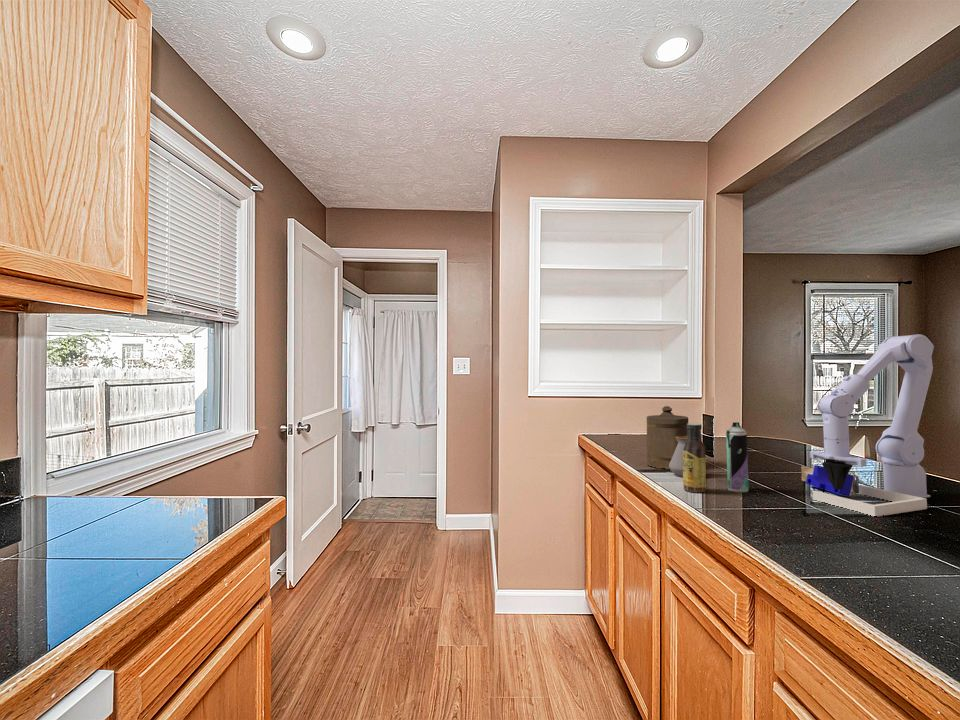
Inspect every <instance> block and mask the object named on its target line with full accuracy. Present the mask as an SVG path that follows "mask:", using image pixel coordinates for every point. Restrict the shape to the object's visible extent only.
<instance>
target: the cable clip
mask: <svg viewBox="0 0 960 720" xmlns="http://www.w3.org/2000/svg"><path fill="white" fill-rule="evenodd" d="M813 468H814V471H813V475H811V474H808V475H807V480H806V482H805V484H807V485H809V486H811V487H814V488H817V489H820V490H825V491H828V492H830V493H833V494H835V495H838V496H843V497H848V496H851V493H852V492H851V487H852V482H853V477H854V476H855V475H852V474H850V473H848V474H847V477H846V479H845V482H844V486H843V489H834V488H833V486H832V484H831V483H830V481H829V478H828V473H827V471H826V470H825V468H824V467H823V465H817V464H814V467H813Z"/></svg>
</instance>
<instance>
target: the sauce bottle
mask: <svg viewBox="0 0 960 720" xmlns="http://www.w3.org/2000/svg"><path fill="white" fill-rule="evenodd" d="M706 460H707V456H706V446H705V445H704V442H703V441H702V423H698V422H697V423H696V422H688V424H687V440H686V443H685V446H684V449H683V477H682V483H683V489H684V490H685V491H686V492H689V493H704V492H706V490H707V489H706V486H707V478H706V477H707V475H706V474H707V471H706V470H707V469H706V468H707V462H706Z"/></svg>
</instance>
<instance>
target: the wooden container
mask: <svg viewBox="0 0 960 720" xmlns="http://www.w3.org/2000/svg"><path fill="white" fill-rule="evenodd" d="M661 411H662V413H660V414H655V415H647V416H646V462H647V463H646V464H647V466H648V465H649V466H648V467H650V466H652V467H651V468H653V467H656V468H655V469H658V468H665V469H664V470H669V469H670V468H669V464H670V461H671V459H672V457H673V454H674V452H675V449H676V447H677V445H678V441H677V440H676V438H675V437H677V436H687V424H688V423H689V417H688V416H685V415H675V414H674V413H673V412H672V411H673V408H672V407H670V406H669V405H668V406H665V405H664V406H663V407H662V410H661Z"/></svg>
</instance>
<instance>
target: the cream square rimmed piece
mask: <svg viewBox="0 0 960 720" xmlns="http://www.w3.org/2000/svg"><path fill="white" fill-rule="evenodd" d="M859 480H860V479H859V475H854V489H855V492H854V494H856V493H859V494H858V495H860V494H864V495H868V496H867V497H869V496H872V497H871V498H873V497H877V498H880V499H879V500H882V499H884V500H883V501H886V500H888V501H887V502H884V503H875V504H872V503H867V502H864V501H863V502H862V501H858V500H854V499H851V498H847V497H844V496H843V497H842V496H840V495H838V496H837V495H836V494H835V495H834V494H830V493H829V494H828V492H827V493H826V492H822V491H818V490H813V491H812V501H813V500H817V501H821V502H825V503H828V504H831V505H830V506H832V505H835V506H834V507H836V506H839V507H838V508H840V507H843V508H847V509H850V510H849V511H851V510H854V511H853V512H855V511H858V512H857V513H859V512H861V513H860V514H862V513H864V514H863V515H866V514H868V515H867V516H870V515H871V517H874V516H877V517H883V515H884V516H890V515H895V514H901V513H909V512H914V511H915V512H916V511H923V510H927V509H928V501H927V500H928V499H927V498H921V497H916V496H911V495H906V494H902V493H897V492H892V491H887V490H884V488H883V489H882V488H877V487H873V486H867V485H862V484H860V481H859ZM859 484H860V485H859ZM864 495H863V496H864ZM877 498H876V499H877ZM817 501H816V502H817ZM890 501H892V502H890ZM821 502H820V503H821ZM828 504H827V505H828ZM843 508H842V509H843ZM847 509H846V510H847Z"/></svg>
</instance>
